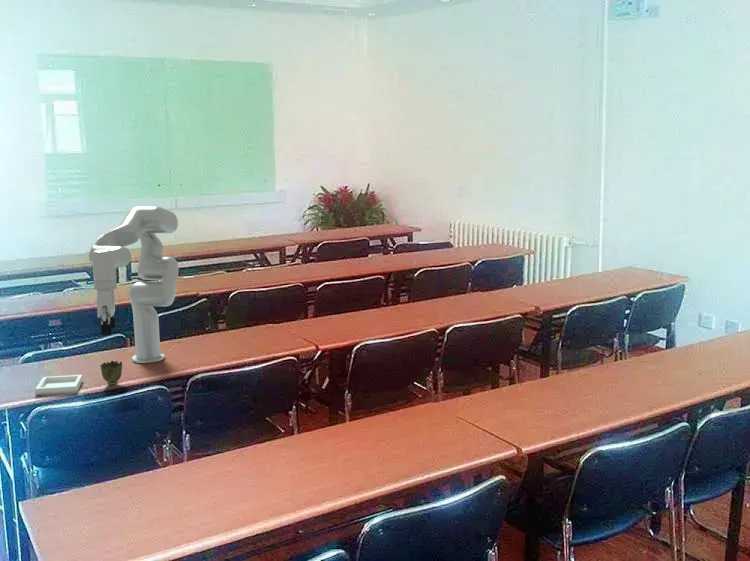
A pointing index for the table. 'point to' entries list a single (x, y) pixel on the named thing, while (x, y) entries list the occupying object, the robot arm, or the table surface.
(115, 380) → the cup
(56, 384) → the tray
